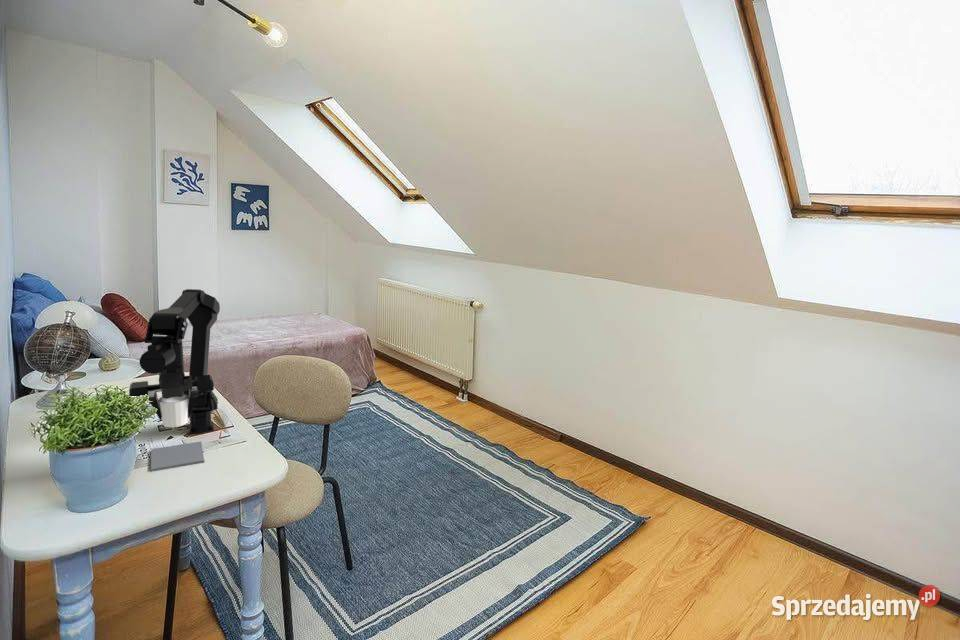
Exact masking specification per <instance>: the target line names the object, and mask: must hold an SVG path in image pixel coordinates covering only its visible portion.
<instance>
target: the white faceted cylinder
mask: <svg viewBox="0 0 960 640" xmlns="http://www.w3.org/2000/svg"><path fill="white" fill-rule="evenodd" d="M188 399H189V396H188V395H186V394H184V396H182V397H171V398H168V399H165V398H163V397H162V396H161V397H158V401H159V406H160V411H161V417H162V420H161V421H162V425H163V426H164V427H165V428H178V427H183V426H185V425H186V424H188V421H189V418H188V417H189V416H188Z"/></svg>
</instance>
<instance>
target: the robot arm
mask: <svg viewBox="0 0 960 640" xmlns="http://www.w3.org/2000/svg"><path fill="white" fill-rule="evenodd" d="M216 298H217V297H214V296H212V295H210V294H207V293H206V292H205V291H204V290H203V289H196V288H195V289H193V288H186V289H183V290H182V292H181V295H180V296H179V297H178V298H177V299H176V300H175V301H174V302H173V303H172V304H171V305H170V306H169V307H167V308H164V309H159V310H157V311H155V312H154V313H153V314H152V315H151V316H150V317H149V319H148V325H147V328H146V333H145V337H144V343H145V344H149V345H147V350H146V351H145V352H143V353H142V354H141V356H140V358H139V366H140V367H141V369H142V370H143V371H144V372H146V373H148V374H151V375H156V374H158V383H157V384H149V381H148V380H144V381H142V380H141V381H133V382H131V383H130V384H129V389H128V392H129V393H128V394H129V395H128V396H129V397H130V396H140V395H145V394H147V395H148V396H149V400H150V401H153V402H148V403H149V404H150V406H151V407H152V408H153V407H155V408H157V409H158V410H157V412H155V413H156V415H157V418H158V419H159V421H162V417H161V411H160V406H159V401H158V400H159V396H158V392H160V393H161V397H163V398H165V399H168V398H171V397H182V396H184V394H186V395H188V396H189V399H188V417H189V423H187V425H188V427H187V428H188V433H189V434H190V435H191V434H198V433H204V432H210V431H211V432H212V431H214V430H215V428H214V427H215V426H214V422H213V421H214V420H212V413H213V411H216V410H218V404H219V402H218V397H217V396H216V394H215V393H214V392H213V391H214V389H215V388H214V387H215V385H214V379H213V376H212V375H211V374H208V368H209V367H208V366H209V354H210V352H209V351H210V339H211V338H210V337H211V328H212V327H213V326H214V325H215V324H216V322H217V320H218V314H219V313H220V310H221V306H220V302H219V301H218V300H217V299H216ZM187 320H188V321H187ZM188 322H189V323H190V325H191V326H192V331H191V332H192V334H191V344H190V345H191V347H190V359H189V361H190V362H189V371H188V373H189V374H188V375H185V365H184V364H185V363H184V348H183V347H184V346H183V340H184V339H185V335H186V332H187V328H188Z"/></svg>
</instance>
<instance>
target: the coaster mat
mask: <svg viewBox="0 0 960 640" xmlns="http://www.w3.org/2000/svg"><path fill="white" fill-rule="evenodd" d="M202 444H203V443H202V441H193V442H188V443H187V442H186V443H181V444H176V445H169V446H164V447H155V448H151V453H150V454H151V456H150V472H155V471H162V470H166V469H167V470H168V469H172V468H173V469H174V468H179V467H185V466H189V465H197V464H203V463H205V457H204V450H203V445H202Z"/></svg>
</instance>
